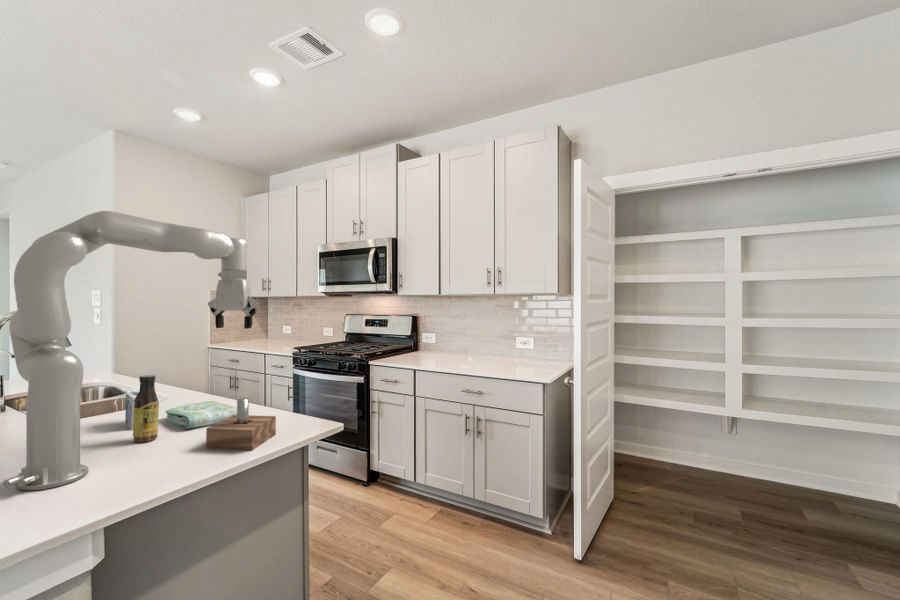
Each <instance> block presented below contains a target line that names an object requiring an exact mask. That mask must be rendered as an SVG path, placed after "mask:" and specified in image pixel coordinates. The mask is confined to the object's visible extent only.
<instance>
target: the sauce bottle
mask: <svg viewBox="0 0 900 600" xmlns="http://www.w3.org/2000/svg"><path fill="white" fill-rule="evenodd" d="M155 381H156V375H155V374H145V375H140V376H139V391H140V392H139V393H138V394H137V396H136V398H135V407H134V422H133V430H132V437H133V439H132V440H133V443H136V444H137V443H138V444H139V443H147V442H152V441H154V440H155V439H157V438H158V433H159V412H160V411H159V409H160V401H159V399H158V396H157V392H156V390H155Z"/></svg>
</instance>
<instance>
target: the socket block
mask: <svg viewBox="0 0 900 600" xmlns="http://www.w3.org/2000/svg"><path fill="white" fill-rule="evenodd" d="M276 421H277V417H276V416H275V415H252V414H250V415H249V414H248V423H247V424H237V415H233V416H231V417H229V418H227V419H225V420H223V421H221V422H219V423H217V424H213V425H209V427H208V426H207V427H206V433H205V434H206V435H205V436H206V437H205V438H206V442H205V443H206V444H205V445H206V450H208V449H209V450H230V451H234V450H235V451H250V452H251V451H254V450H255V449H257V448H258V447H259V446H261V445H263V444H264V443H265V442H267V441H268V440H270V439H272V438H273V437H275V436H276V435H277V434H276V433H277V431H276V430H277V429H276V428H277V422H276Z"/></svg>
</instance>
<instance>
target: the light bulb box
mask: <svg viewBox="0 0 900 600" xmlns="http://www.w3.org/2000/svg"><path fill="white" fill-rule="evenodd" d="M139 392H140V390H139V391H134V392H133V391H132V392H126V393H125V413H124V414H125V417H124V418H125V421H124V424H125V425H126V426H127V427H128V428H129V430H131V431H133V422H134V407H135V398H136V396H137V394H138V393H139Z"/></svg>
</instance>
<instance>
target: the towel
mask: <svg viewBox="0 0 900 600" xmlns="http://www.w3.org/2000/svg"><path fill="white" fill-rule="evenodd" d="M165 413H166V421H167V422H168V423H171V424H173V425H175V426H176V427H177V426H178V428H179V427H180V428H181V429H184V430H187V429H196V428H200V427H201V428H202V427H205V426H206V427H208V426H212V425H214V424H217V423H219V422H221V421H223V420H225V419H227V418H229V417H231V416H233V415H237V406H236V407H235V406H232V405H229V404H226V403H222V402H219V401H216V400H215V401H214V400H205V401H200V402H194V403H188V404H183V405H179V406H175V407H173V408H172V407H171V408H169V409H166V410H165Z"/></svg>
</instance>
